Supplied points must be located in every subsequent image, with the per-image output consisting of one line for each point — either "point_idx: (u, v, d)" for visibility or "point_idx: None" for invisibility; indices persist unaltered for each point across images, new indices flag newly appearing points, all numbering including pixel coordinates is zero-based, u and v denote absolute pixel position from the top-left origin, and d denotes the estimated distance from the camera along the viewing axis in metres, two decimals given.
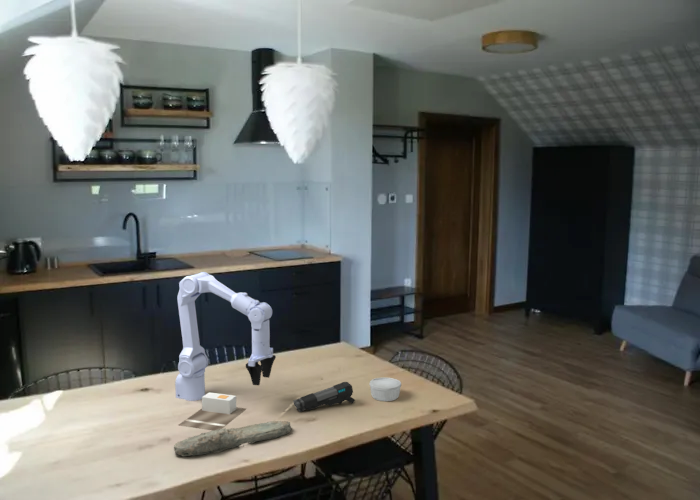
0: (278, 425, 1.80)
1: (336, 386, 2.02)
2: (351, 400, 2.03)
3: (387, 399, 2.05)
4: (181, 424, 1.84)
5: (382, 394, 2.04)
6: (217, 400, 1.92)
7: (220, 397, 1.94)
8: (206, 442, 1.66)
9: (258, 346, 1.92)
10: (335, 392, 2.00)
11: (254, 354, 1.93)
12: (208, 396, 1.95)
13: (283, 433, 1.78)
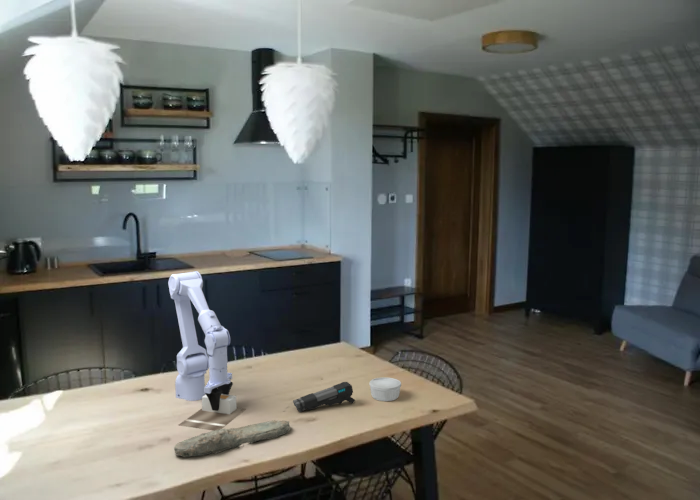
0: (278, 424, 1.80)
1: (336, 386, 2.02)
2: (351, 400, 2.03)
3: (387, 399, 2.05)
4: (181, 424, 1.84)
5: (382, 394, 2.04)
6: None
7: (220, 397, 1.94)
8: (207, 442, 1.66)
9: (215, 372, 1.91)
10: (335, 392, 2.00)
11: (211, 380, 1.92)
12: None
13: (283, 432, 1.79)
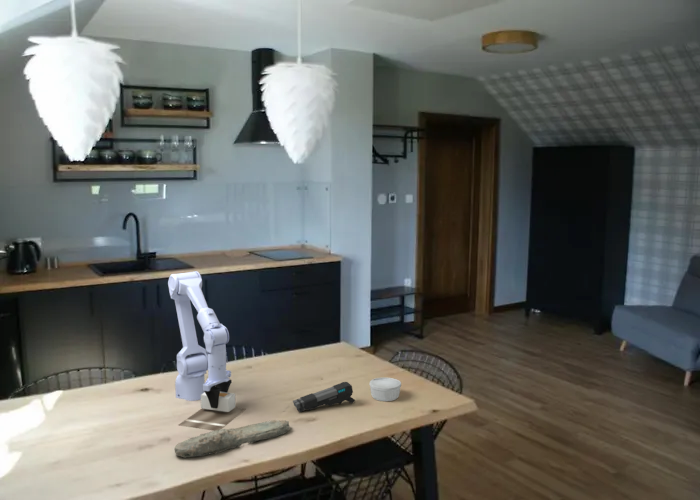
0: (277, 424, 1.80)
1: (336, 386, 2.02)
2: (351, 400, 2.03)
3: (387, 399, 2.05)
4: (181, 424, 1.84)
5: (382, 394, 2.04)
6: None
7: (219, 395, 1.93)
8: (207, 442, 1.65)
9: (214, 370, 1.90)
10: (335, 392, 1.99)
11: (210, 378, 1.91)
12: None
13: (282, 432, 1.79)
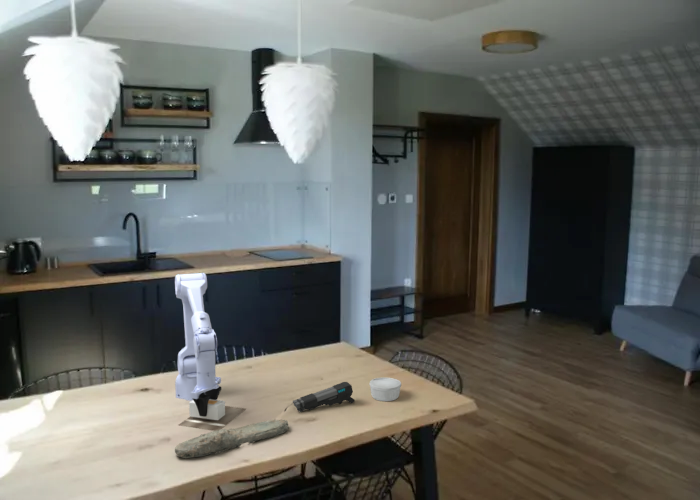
0: (277, 424, 1.81)
1: (336, 386, 2.02)
2: (351, 400, 2.03)
3: (387, 399, 2.05)
4: (181, 424, 1.84)
5: (382, 394, 2.04)
6: None
7: (208, 402, 1.87)
8: (208, 443, 1.65)
9: (202, 377, 1.84)
10: (335, 392, 2.00)
11: (199, 385, 1.85)
12: None
13: (282, 431, 1.80)
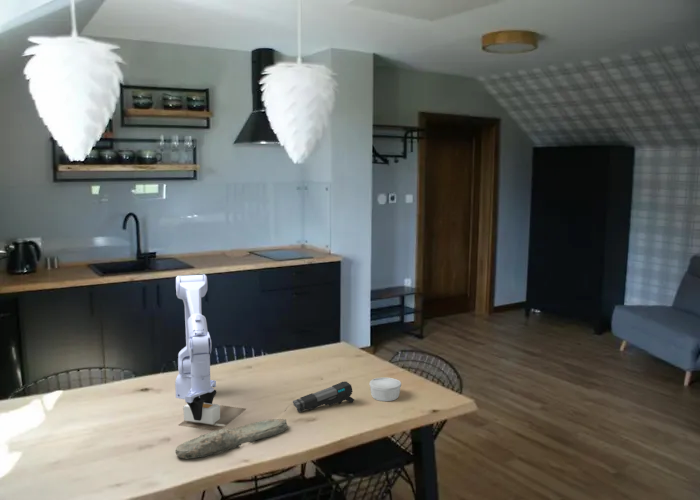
0: (276, 423, 1.81)
1: (335, 386, 2.02)
2: (350, 400, 2.04)
3: (387, 399, 2.05)
4: (181, 424, 1.84)
5: (382, 394, 2.04)
6: None
7: (203, 406, 1.84)
8: (209, 443, 1.65)
9: (197, 380, 1.81)
10: (335, 392, 2.00)
11: (193, 389, 1.82)
12: None
13: (281, 430, 1.80)
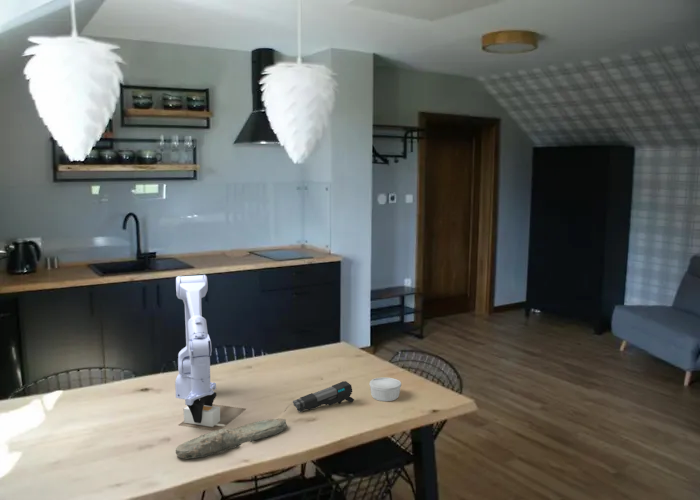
0: (275, 422, 1.82)
1: (335, 386, 2.03)
2: (350, 399, 2.04)
3: (387, 399, 2.05)
4: (181, 424, 1.84)
5: (382, 394, 2.04)
6: None
7: (203, 409, 1.84)
8: (209, 443, 1.65)
9: (197, 383, 1.81)
10: (335, 392, 2.00)
11: (193, 391, 1.82)
12: None
13: (280, 430, 1.80)
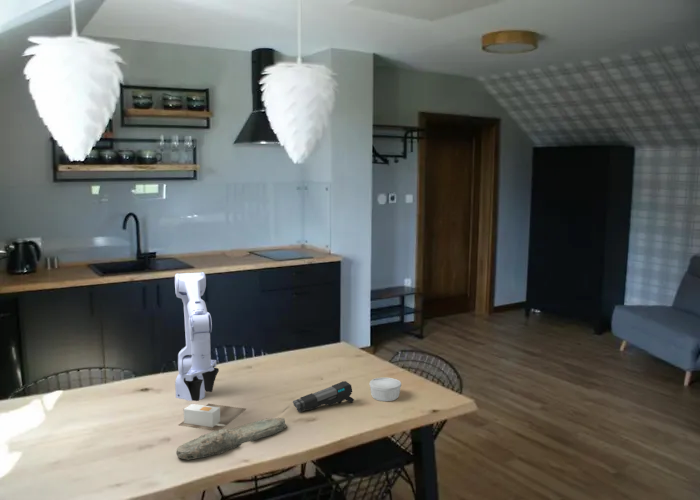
0: (274, 422, 1.82)
1: (335, 386, 2.03)
2: (350, 399, 2.04)
3: (387, 399, 2.05)
4: (181, 424, 1.84)
5: (382, 394, 2.04)
6: (199, 413, 1.83)
7: (203, 409, 1.84)
8: (210, 443, 1.65)
9: (197, 359, 1.80)
10: (335, 392, 2.00)
11: (193, 367, 1.81)
12: (190, 408, 1.85)
13: (280, 429, 1.81)
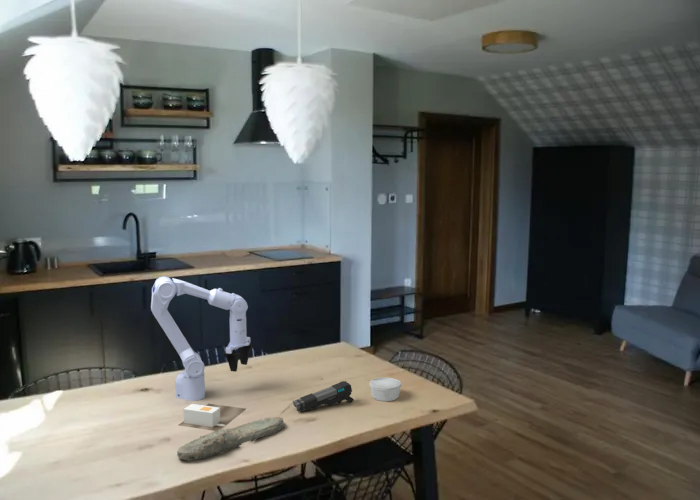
0: (273, 421, 1.82)
1: (335, 386, 2.03)
2: (350, 399, 2.04)
3: (387, 399, 2.05)
4: (181, 424, 1.84)
5: (382, 394, 2.04)
6: (199, 413, 1.83)
7: (203, 409, 1.84)
8: (212, 444, 1.65)
9: (235, 335, 2.07)
10: (335, 392, 2.00)
11: (232, 342, 2.08)
12: (190, 408, 1.85)
13: (279, 428, 1.82)
